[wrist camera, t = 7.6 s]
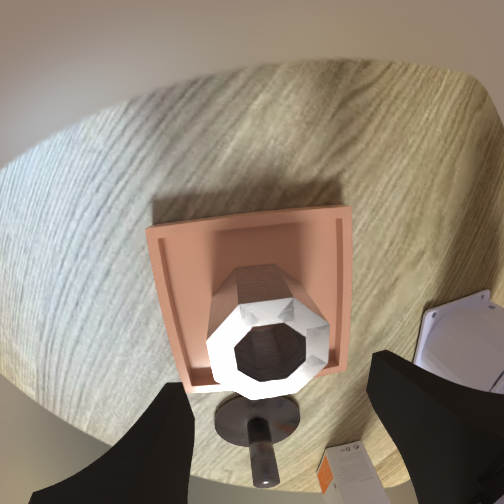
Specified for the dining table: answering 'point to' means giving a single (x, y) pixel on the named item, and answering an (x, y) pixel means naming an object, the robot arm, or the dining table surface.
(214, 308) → the octagonal pencil cup
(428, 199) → the dining table surface
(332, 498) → the skincare box
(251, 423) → the stand
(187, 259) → the tray
